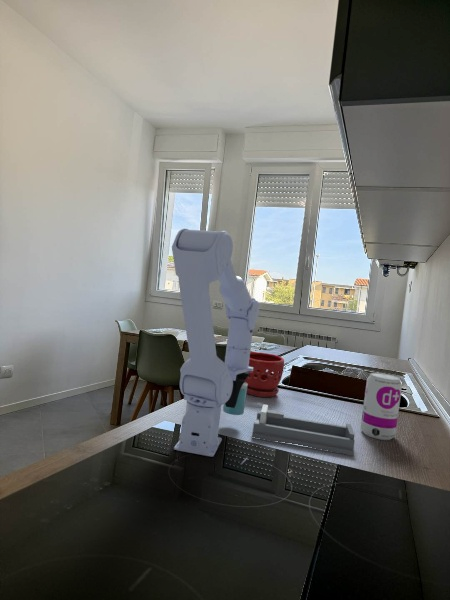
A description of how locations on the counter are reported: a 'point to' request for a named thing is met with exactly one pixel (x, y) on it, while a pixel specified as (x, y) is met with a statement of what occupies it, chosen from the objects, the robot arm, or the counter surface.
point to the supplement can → (381, 406)
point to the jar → (238, 402)
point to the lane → (306, 433)
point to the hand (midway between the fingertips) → (232, 403)
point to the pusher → (269, 414)
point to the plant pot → (264, 374)
